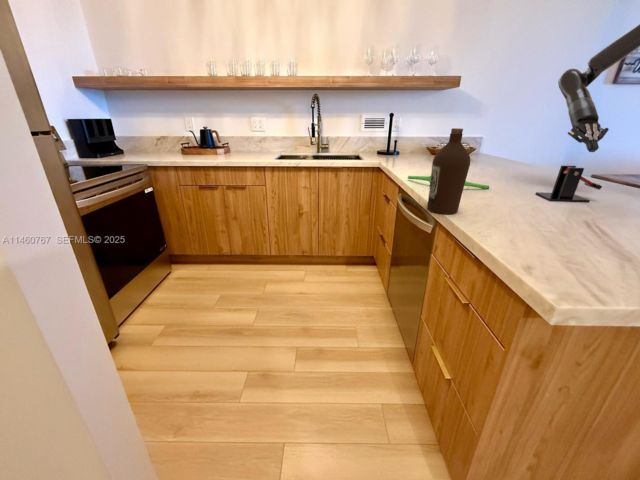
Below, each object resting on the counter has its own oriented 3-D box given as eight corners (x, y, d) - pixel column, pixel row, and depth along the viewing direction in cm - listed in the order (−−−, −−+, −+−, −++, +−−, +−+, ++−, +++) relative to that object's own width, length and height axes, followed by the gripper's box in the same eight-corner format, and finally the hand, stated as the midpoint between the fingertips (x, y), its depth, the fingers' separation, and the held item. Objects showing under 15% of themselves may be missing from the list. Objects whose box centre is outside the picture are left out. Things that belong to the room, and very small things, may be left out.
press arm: (585, 186, 106) (591, 181, 105) (597, 191, 100) (603, 185, 99) (559, 171, 104) (564, 165, 103) (570, 174, 99) (576, 168, 98)
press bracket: (571, 196, 109) (583, 164, 104) (588, 203, 101) (602, 169, 96) (534, 195, 110) (545, 164, 105) (549, 202, 102) (560, 168, 97)
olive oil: (454, 205, 98) (470, 127, 88) (464, 216, 89) (483, 130, 78) (422, 204, 100) (434, 127, 89) (428, 214, 90) (443, 129, 80)
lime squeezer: (488, 189, 119) (492, 173, 116) (486, 195, 110) (491, 179, 107) (408, 179, 135) (409, 165, 132) (400, 184, 125) (402, 170, 123)
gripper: (570, 105, 107) (582, 143, 101) (609, 105, 105) (623, 144, 99) (557, 120, 114) (566, 156, 108) (593, 120, 112) (604, 157, 106)
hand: (593, 150), depth 104 cm, fingers closed
